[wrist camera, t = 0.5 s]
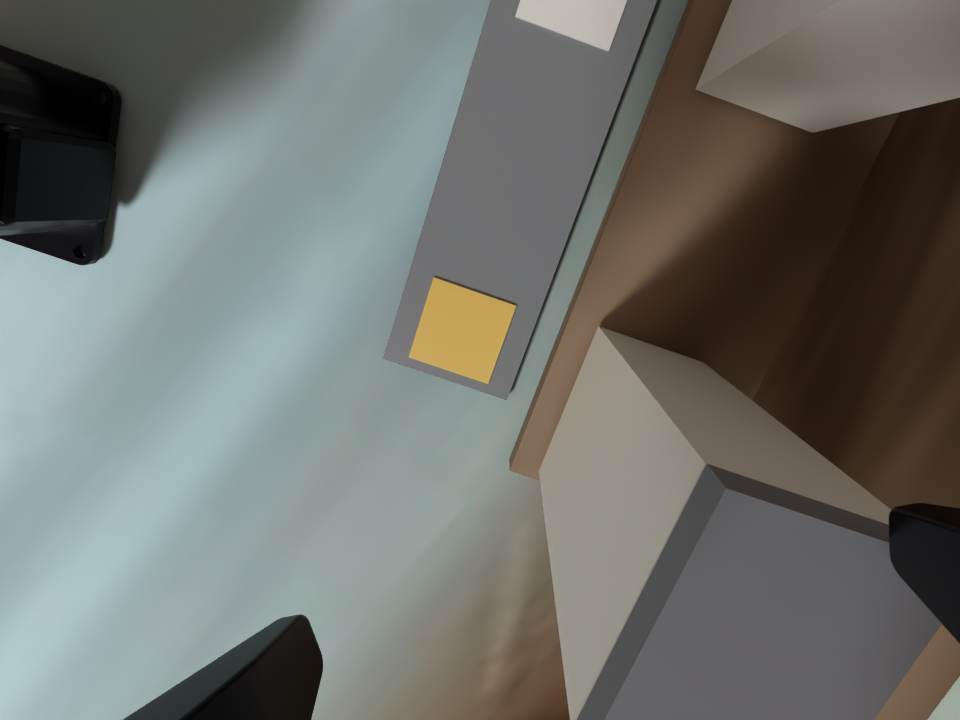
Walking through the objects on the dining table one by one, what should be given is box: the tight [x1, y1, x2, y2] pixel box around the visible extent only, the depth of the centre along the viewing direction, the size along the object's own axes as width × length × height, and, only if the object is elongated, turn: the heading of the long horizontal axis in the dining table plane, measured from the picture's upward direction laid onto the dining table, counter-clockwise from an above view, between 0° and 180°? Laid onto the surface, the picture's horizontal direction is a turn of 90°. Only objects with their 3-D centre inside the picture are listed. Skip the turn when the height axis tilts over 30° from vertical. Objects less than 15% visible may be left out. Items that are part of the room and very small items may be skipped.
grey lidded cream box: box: [539, 326, 942, 720], centre depth 14 cm, size 4×6×12 cm
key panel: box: [509, 0, 960, 720], centre depth 15 cm, size 10×21×10 cm, turn 161°
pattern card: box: [384, 0, 657, 400], centre depth 19 cm, size 5×16×1 cm, turn 161°
